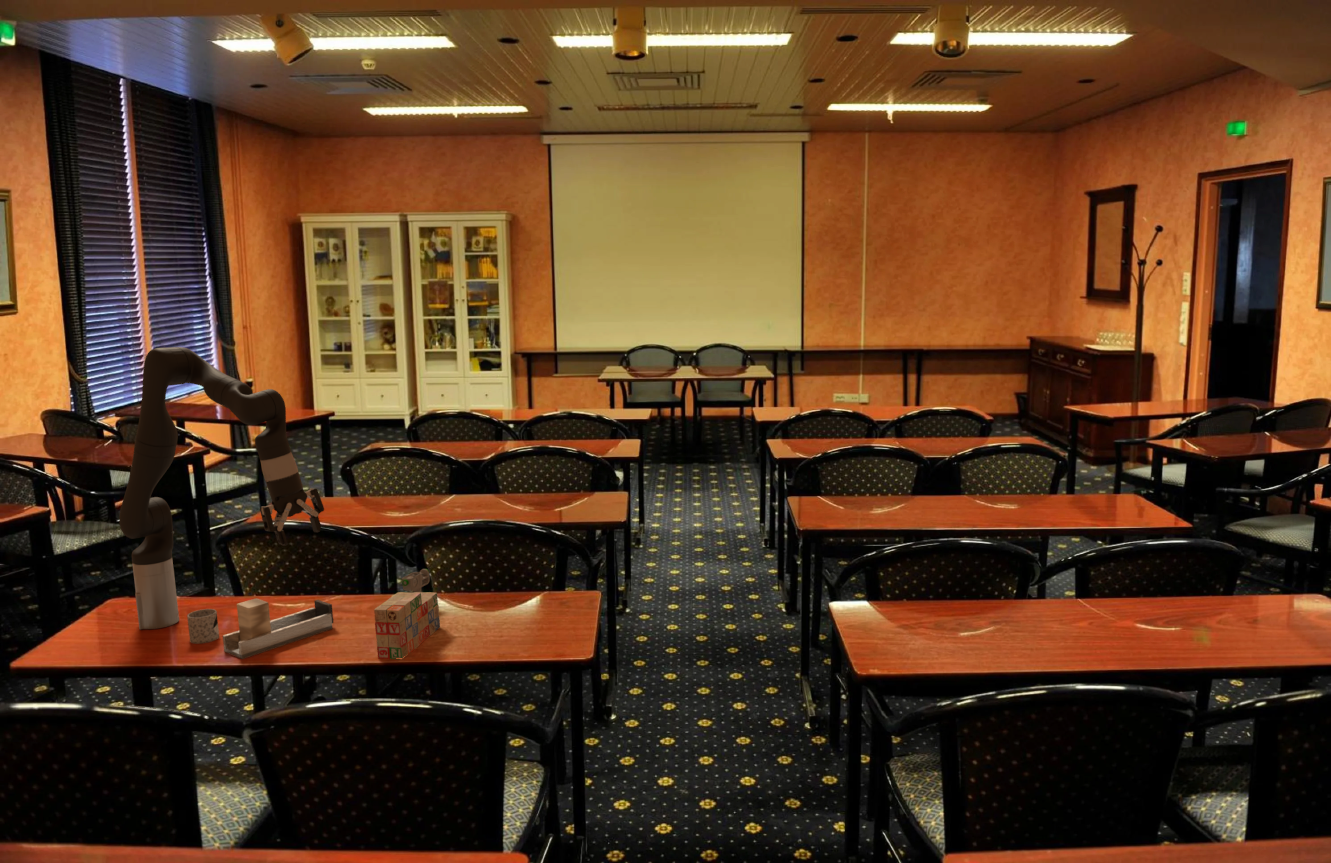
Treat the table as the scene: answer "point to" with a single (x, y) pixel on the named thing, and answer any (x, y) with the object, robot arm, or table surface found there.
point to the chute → (282, 631)
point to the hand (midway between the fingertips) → (301, 538)
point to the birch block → (253, 618)
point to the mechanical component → (416, 580)
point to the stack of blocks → (405, 623)
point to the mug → (203, 626)
